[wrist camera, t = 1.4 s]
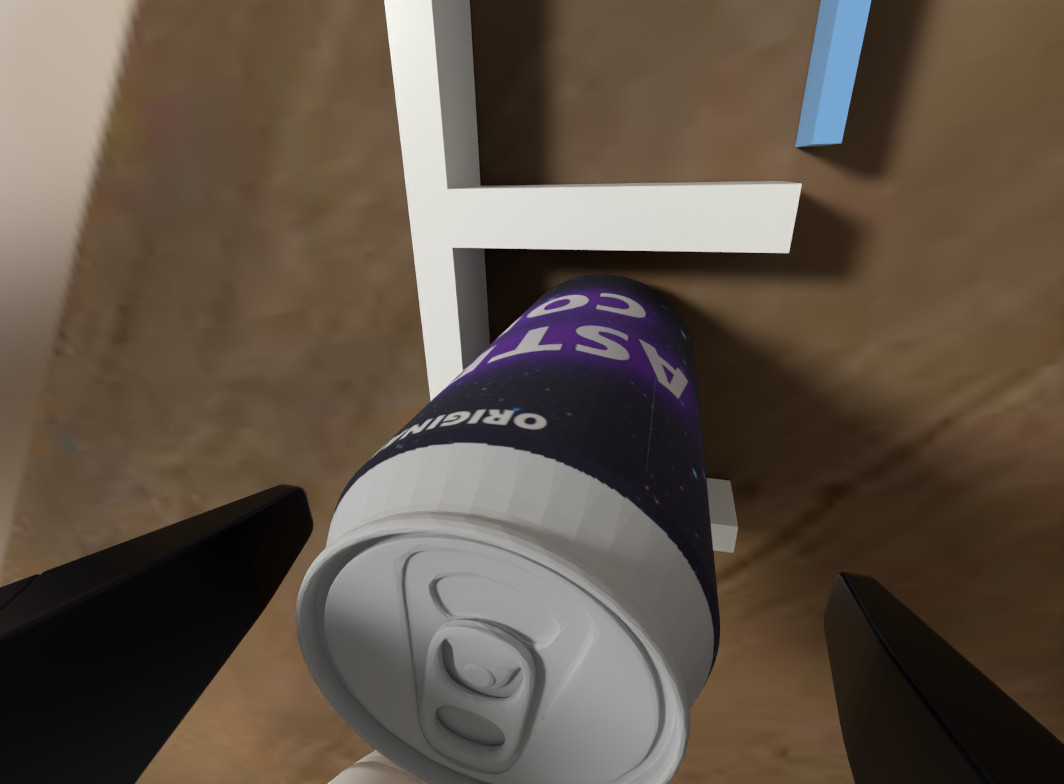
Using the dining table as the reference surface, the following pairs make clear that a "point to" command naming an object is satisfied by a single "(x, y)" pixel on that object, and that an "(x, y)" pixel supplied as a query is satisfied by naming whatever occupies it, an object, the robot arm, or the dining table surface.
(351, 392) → the dining table surface
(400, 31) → the white open frame
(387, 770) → the spinning top
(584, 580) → the beverage can
